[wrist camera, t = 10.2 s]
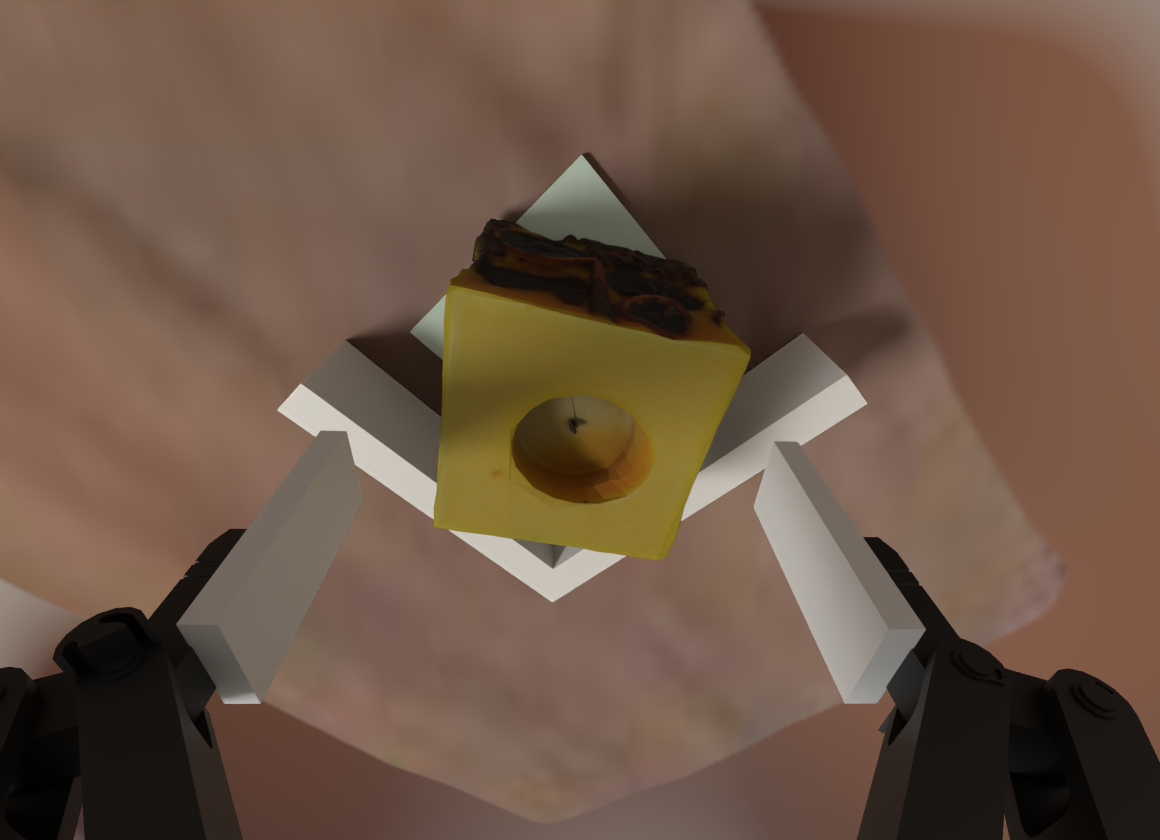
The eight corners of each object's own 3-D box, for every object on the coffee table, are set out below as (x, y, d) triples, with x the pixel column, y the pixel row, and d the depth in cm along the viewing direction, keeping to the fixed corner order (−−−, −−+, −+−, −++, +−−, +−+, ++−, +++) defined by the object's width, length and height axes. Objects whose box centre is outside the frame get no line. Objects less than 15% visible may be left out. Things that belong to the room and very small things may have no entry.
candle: (487, 214, 23) (435, 272, 14) (697, 260, 24) (764, 340, 16) (467, 404, 28) (419, 530, 20) (640, 434, 29) (667, 566, 21)
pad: (411, 329, 26) (409, 331, 26) (581, 154, 22) (581, 154, 22) (568, 466, 31) (568, 469, 31) (733, 342, 27) (735, 344, 26)
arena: (323, 363, 27) (277, 409, 23) (603, 55, 20) (610, 40, 16) (555, 541, 34) (552, 602, 30) (821, 358, 27) (867, 403, 23)
